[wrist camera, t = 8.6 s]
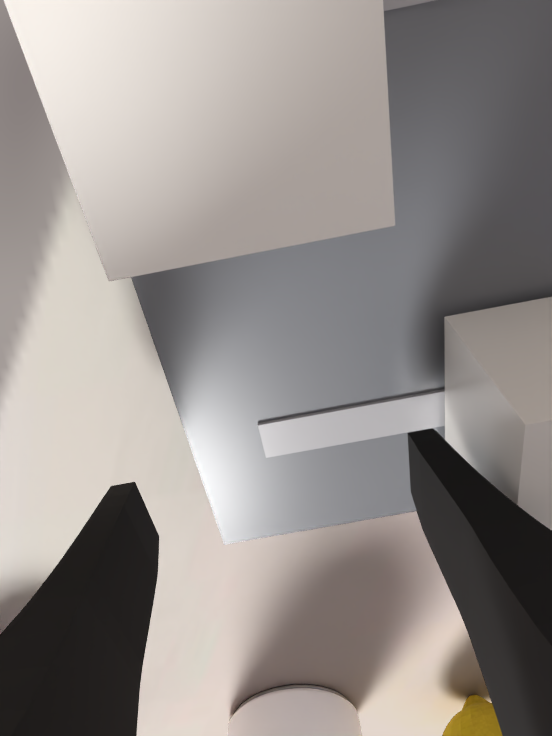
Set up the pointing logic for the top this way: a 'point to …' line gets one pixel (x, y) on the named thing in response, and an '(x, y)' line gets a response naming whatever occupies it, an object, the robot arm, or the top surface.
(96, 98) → the switch front
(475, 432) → the switch back
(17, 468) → the top surface
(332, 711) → the can
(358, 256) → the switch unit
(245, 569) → the top surface
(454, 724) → the lemon
